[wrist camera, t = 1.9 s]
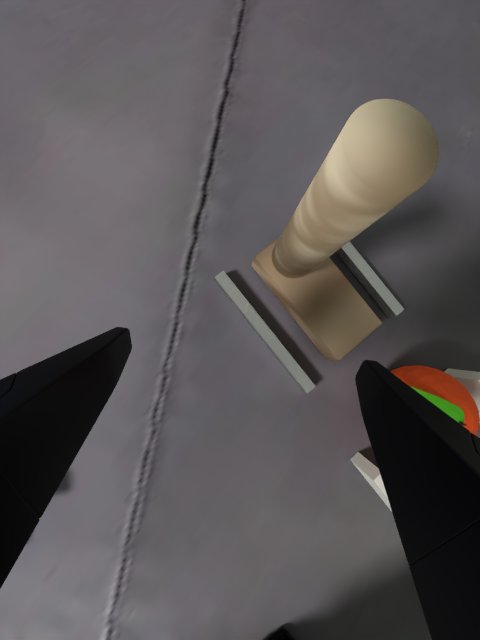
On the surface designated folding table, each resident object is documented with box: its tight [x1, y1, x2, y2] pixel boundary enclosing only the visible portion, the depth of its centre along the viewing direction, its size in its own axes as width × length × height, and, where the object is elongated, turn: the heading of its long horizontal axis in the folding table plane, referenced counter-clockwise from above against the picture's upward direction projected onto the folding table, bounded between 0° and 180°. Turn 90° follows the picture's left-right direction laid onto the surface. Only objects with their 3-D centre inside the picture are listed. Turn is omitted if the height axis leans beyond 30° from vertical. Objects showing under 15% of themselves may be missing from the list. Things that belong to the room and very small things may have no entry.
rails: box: [215, 241, 404, 394], centre depth 23 cm, size 13×12×1 cm
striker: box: [251, 99, 439, 361], centre depth 16 cm, size 11×5×15 cm, turn 39°
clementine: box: [390, 365, 480, 435], centre depth 20 cm, size 8×7×7 cm
